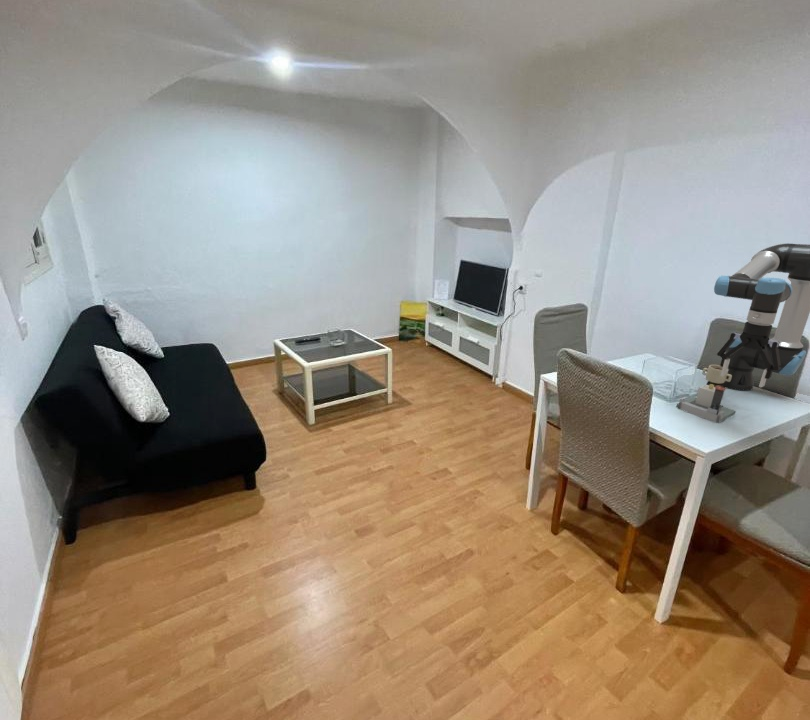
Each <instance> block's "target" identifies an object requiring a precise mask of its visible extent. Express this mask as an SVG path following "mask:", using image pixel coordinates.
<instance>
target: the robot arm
mask: <svg viewBox="0 0 810 720" xmlns="http://www.w3.org/2000/svg"><path fill="white" fill-rule="evenodd" d="M773 272H776V273H785V274H788V276H787V279H788V280H789V282H787V281H786V280H785V279H783V278H777V277H764V276H766V275H767V274H771V273H773ZM713 292H714V294H715V295H717V296H722V297H724V298H725V297H726V298H733V299H743V300H749V301H751V303H750V307H749V311H748V313H747V316H746V322H745V324H744V326H743V330H742V333H738V332H733V333H730V336H729V338H728V340H727V341H726V343H724V344H723V346H722V347H721V349H719V351H718V352H717V353H716V355H717V356H718V357H720V358H721V361H720V366H721V367H723V368H722V371H721V375H720V376H725V375H726V372H727V369H728V373H727V374H730V375H732V378H731V381H730V382H728V381H725V382H724V383H721V386H724V387H725V388H726V389H729V390H730V389H731V390H735V391H741V392H742V391H751V390H752V391H753V388H754V386H755V382H754V370H755V369H759V370H763V372H762V375H761V378H760V382H759V385H758V387H759V388H763V387H765V385H766V381H767V380H769V379H770V378H772V375H773V373H776V374H778V375H785V376H792V375H794V374H796V372H797V371H798V370H799V368H800V366H801V365H802V363H803V362H804V360H805V357H806V355H807V351H806V350H805V349H804V345H803V343H802V342H801V340H802V337H803V334H804V331H805V329H806V325H807V321H808V319H809V316H810V244H807V243H806V244H804V243H803V244H801V243H780V244H775V245H773V246H768V247H766V248H763V249H761V250H760V251H758V252H757V253H755V254H754V255H753V256H752V257H751V260H750V261H749V262H748V263H747V264H745V265H744V266H743V267H741V268H740V269H738V270H737V272H735V273H734V274H732V275H721V276H718V278H717V279H716V281H715V284H714V287H713ZM783 302H784V304H783V306H782V307H783V308H782V310H781V313H780V316H779V321H778V323H777V326H776V330H775V332H774V335H773V337H772V338H770V335H771V333H772V329H773V324H774V323H775V320H776V317H777V313H778V310H779V307H780V304H781V303H783ZM803 349H804V350H803ZM728 378H729V376H727V377H726V379H728Z"/></svg>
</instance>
